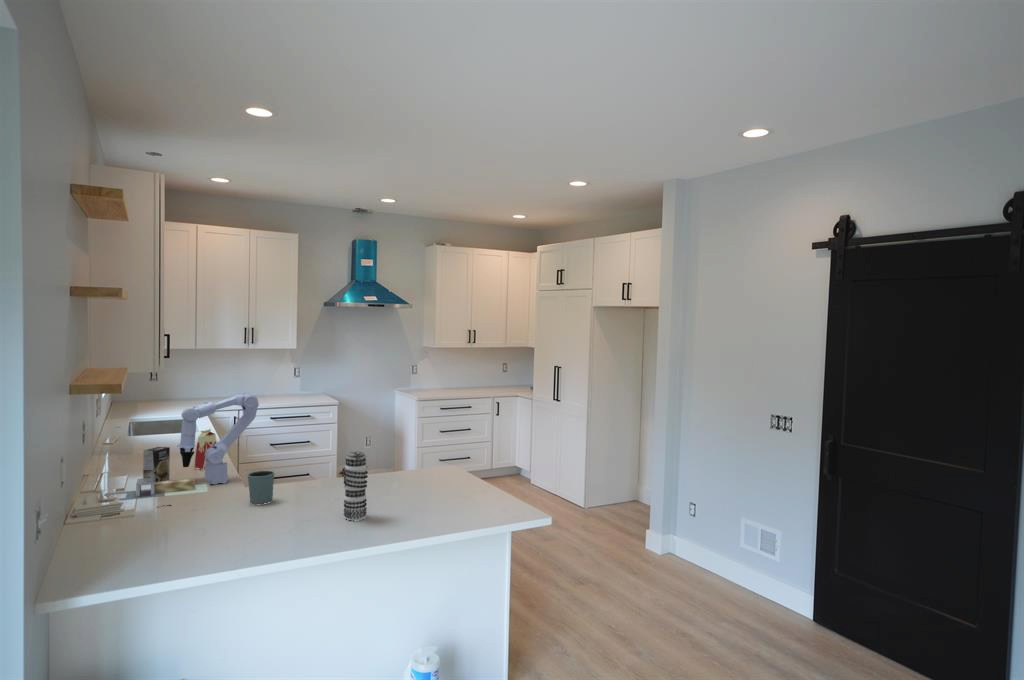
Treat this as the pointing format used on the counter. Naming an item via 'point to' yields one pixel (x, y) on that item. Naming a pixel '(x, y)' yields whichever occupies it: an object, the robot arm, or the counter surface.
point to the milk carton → (203, 447)
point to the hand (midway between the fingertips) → (185, 465)
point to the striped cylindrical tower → (355, 486)
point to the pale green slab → (148, 493)
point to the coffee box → (157, 463)
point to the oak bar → (174, 486)
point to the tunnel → (145, 482)
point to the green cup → (261, 486)
